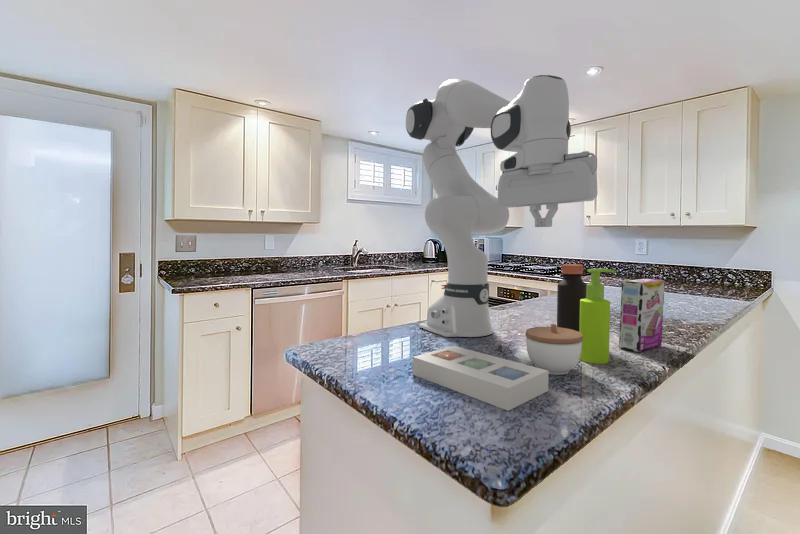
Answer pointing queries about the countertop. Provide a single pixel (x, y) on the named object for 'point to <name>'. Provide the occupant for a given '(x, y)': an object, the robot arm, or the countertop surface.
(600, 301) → the soap dispenser
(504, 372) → the button slate
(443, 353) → the button terracotta
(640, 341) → the candy bar box
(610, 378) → the countertop surface
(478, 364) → the button sage
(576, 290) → the bottle
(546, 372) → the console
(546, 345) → the lidded jar
